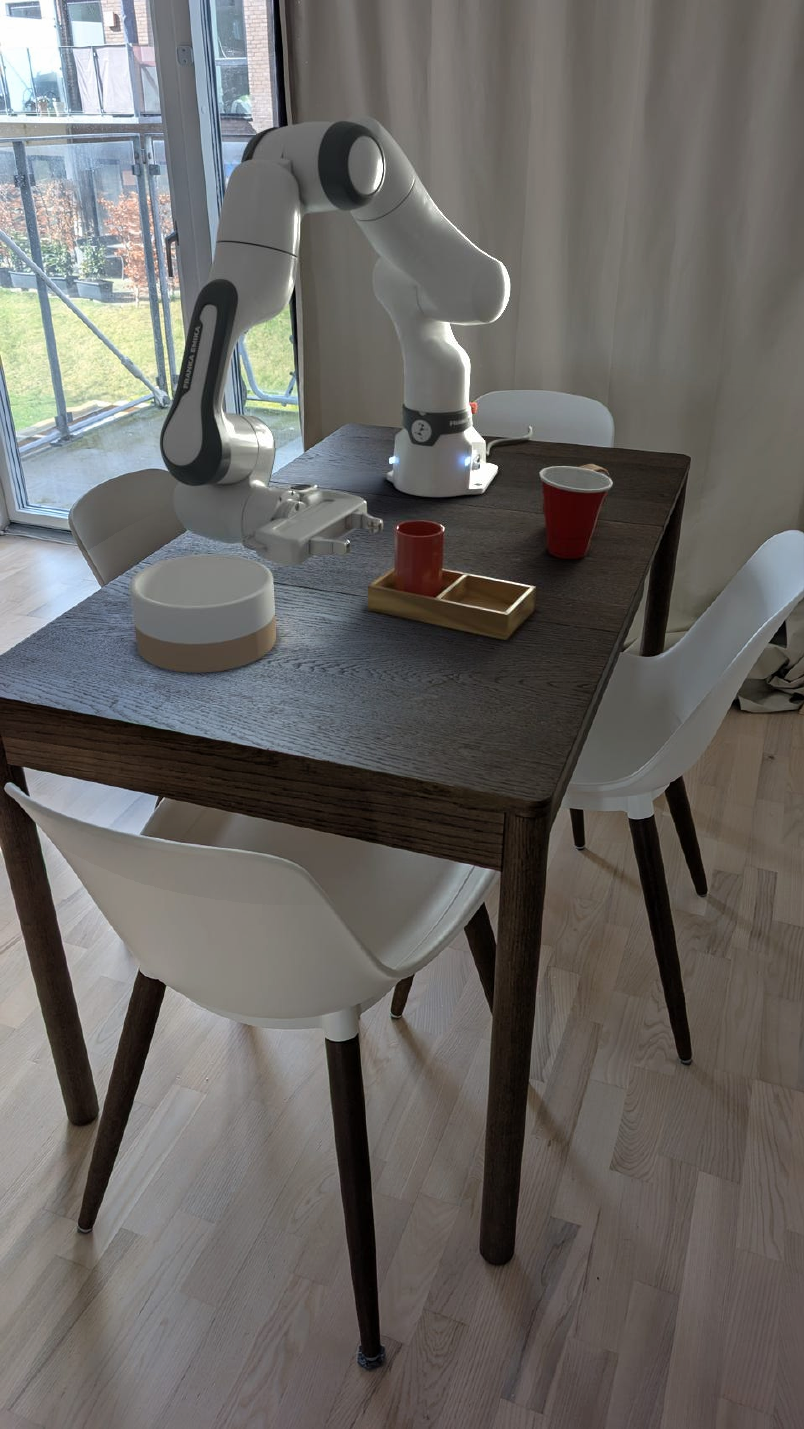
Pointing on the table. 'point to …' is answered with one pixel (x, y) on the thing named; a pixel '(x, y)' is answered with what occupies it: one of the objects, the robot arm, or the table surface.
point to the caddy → (459, 603)
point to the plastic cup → (572, 508)
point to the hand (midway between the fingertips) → (364, 537)
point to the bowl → (203, 612)
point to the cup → (418, 557)
